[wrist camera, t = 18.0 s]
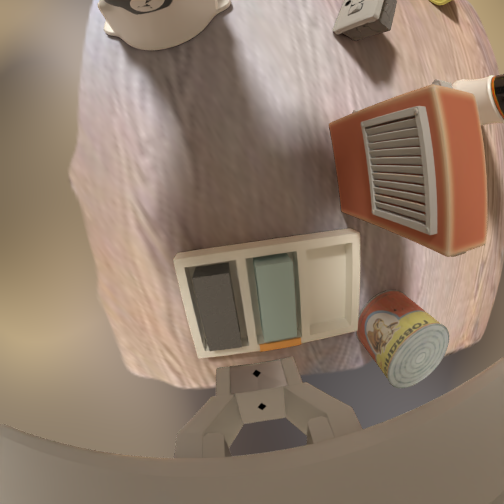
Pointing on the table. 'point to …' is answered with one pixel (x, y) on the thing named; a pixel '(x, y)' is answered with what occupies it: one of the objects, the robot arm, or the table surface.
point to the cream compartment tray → (305, 285)
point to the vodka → (486, 97)
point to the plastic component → (440, 2)
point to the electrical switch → (365, 18)
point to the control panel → (416, 167)
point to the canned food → (401, 338)
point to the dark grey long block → (217, 306)
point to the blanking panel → (276, 296)
